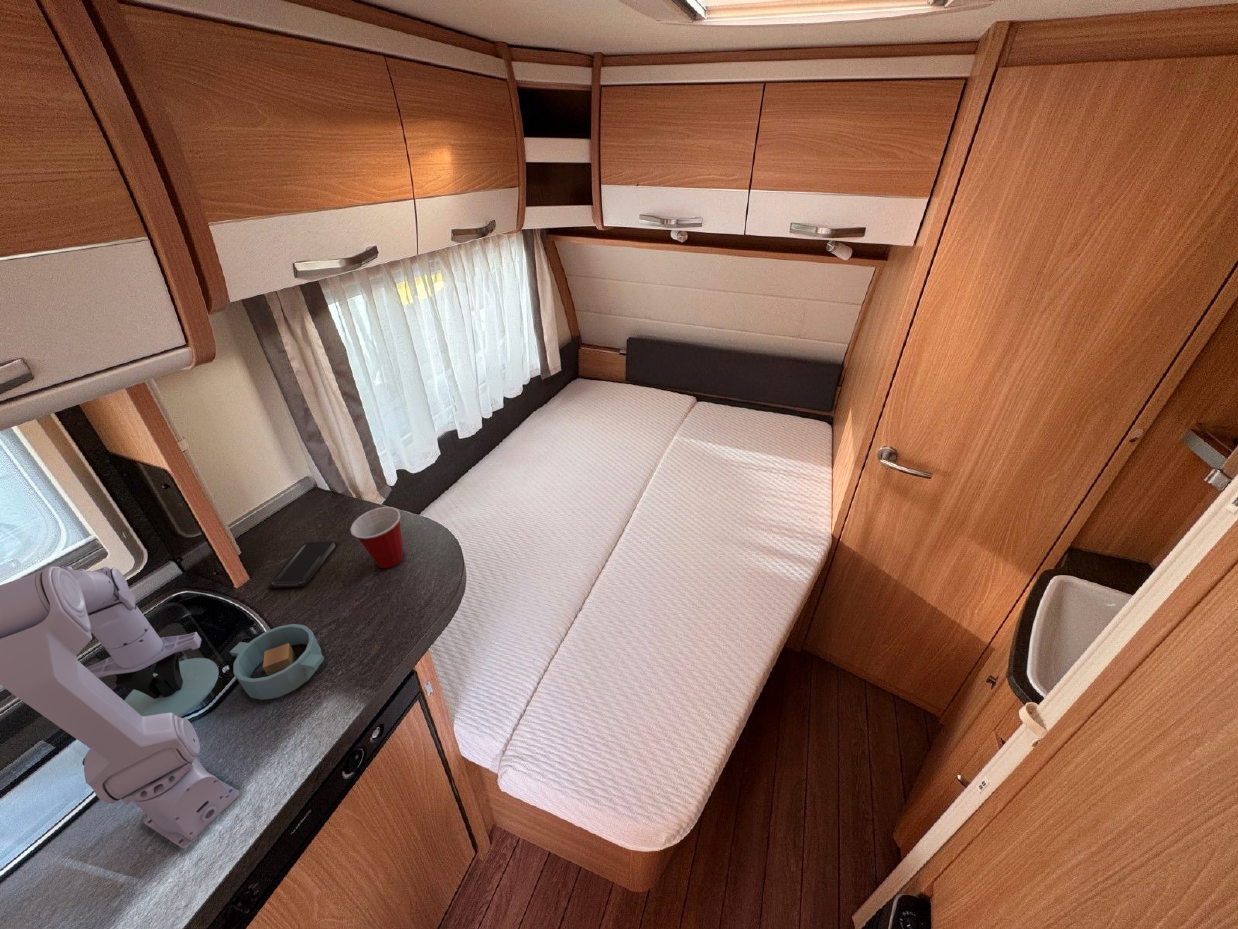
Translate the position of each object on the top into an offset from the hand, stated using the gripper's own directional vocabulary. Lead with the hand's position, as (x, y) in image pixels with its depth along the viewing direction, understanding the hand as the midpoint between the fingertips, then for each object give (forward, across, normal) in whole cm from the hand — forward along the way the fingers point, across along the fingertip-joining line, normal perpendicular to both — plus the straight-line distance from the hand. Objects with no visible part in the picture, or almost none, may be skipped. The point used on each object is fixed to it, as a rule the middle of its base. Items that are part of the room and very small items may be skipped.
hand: (169, 690), depth 86 cm
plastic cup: (+6, -36, -24) cm, 44 cm away
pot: (+5, -16, 0) cm, 16 cm away
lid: (+1, 0, 0) cm, 1 cm away
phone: (+5, -18, -32) cm, 37 cm away
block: (+5, -16, 0) cm, 16 cm away
